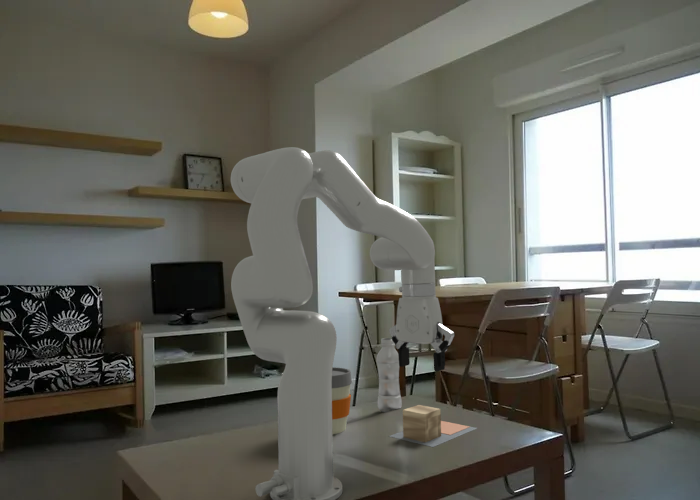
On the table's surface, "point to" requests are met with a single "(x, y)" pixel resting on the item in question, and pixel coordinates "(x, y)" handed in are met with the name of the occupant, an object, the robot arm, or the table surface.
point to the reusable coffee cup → (340, 398)
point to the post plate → (447, 434)
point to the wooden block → (422, 423)
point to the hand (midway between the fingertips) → (421, 367)
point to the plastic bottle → (388, 377)
